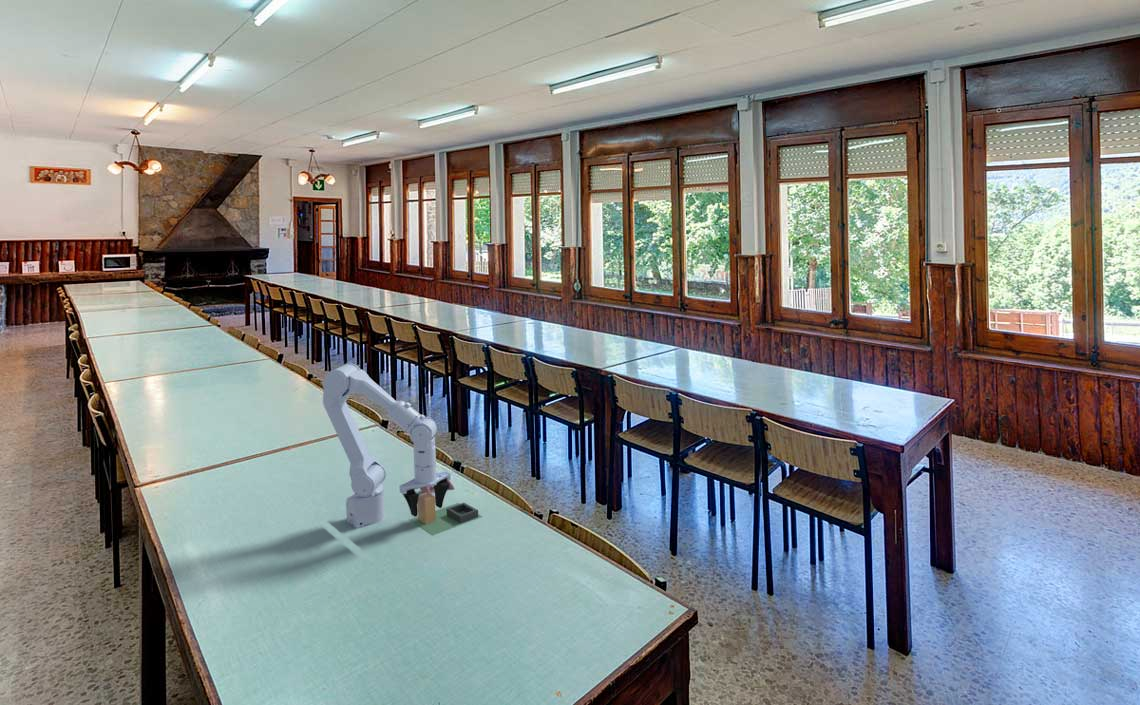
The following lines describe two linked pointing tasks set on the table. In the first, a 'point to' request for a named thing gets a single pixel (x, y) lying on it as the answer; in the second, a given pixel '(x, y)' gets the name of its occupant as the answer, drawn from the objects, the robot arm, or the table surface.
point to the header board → (449, 518)
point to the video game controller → (430, 490)
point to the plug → (426, 508)
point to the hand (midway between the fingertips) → (426, 510)
